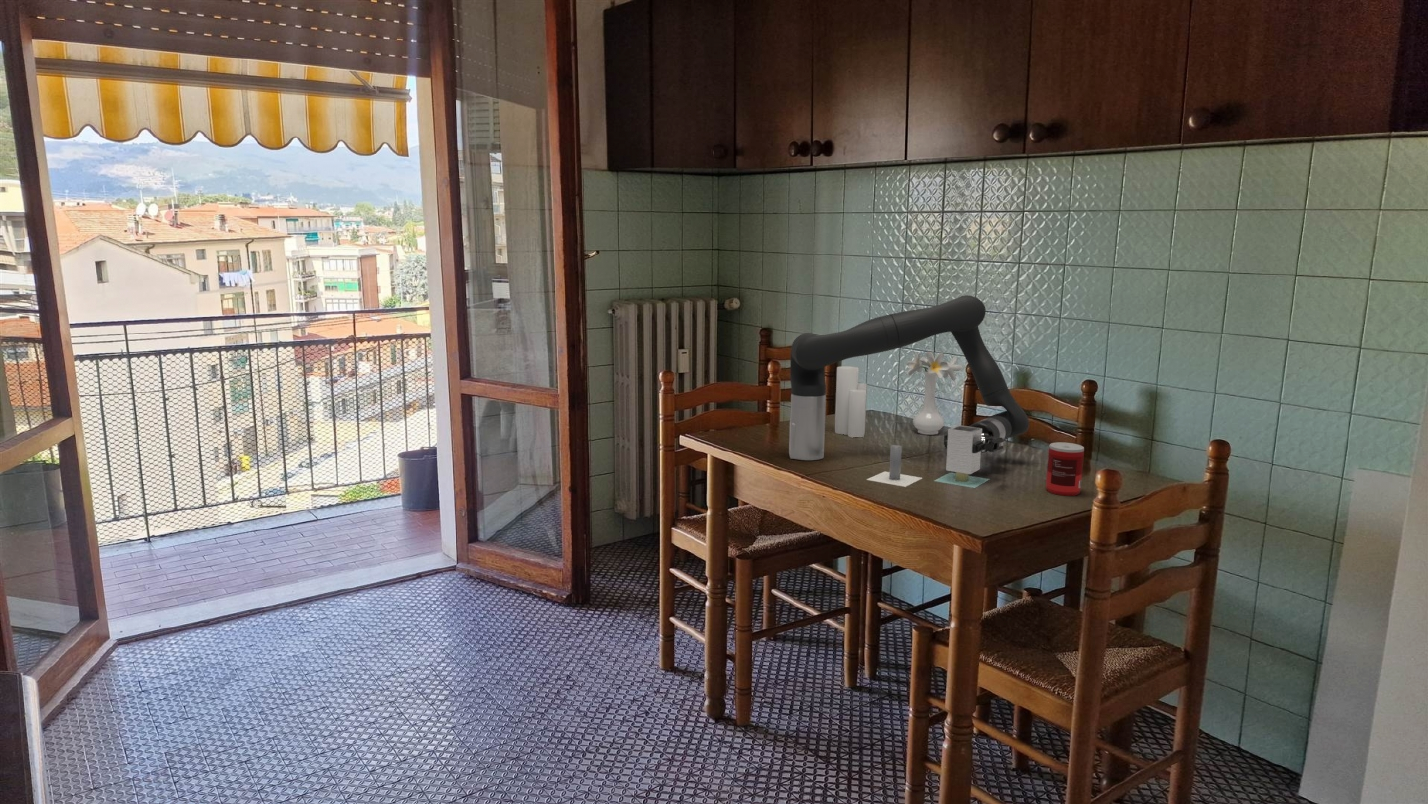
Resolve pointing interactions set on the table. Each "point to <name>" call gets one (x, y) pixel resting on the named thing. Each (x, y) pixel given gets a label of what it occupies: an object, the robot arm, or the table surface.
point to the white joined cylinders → (850, 403)
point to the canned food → (1064, 468)
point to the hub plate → (967, 484)
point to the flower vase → (931, 389)
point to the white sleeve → (963, 449)
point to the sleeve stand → (895, 471)
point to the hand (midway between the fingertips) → (960, 447)
